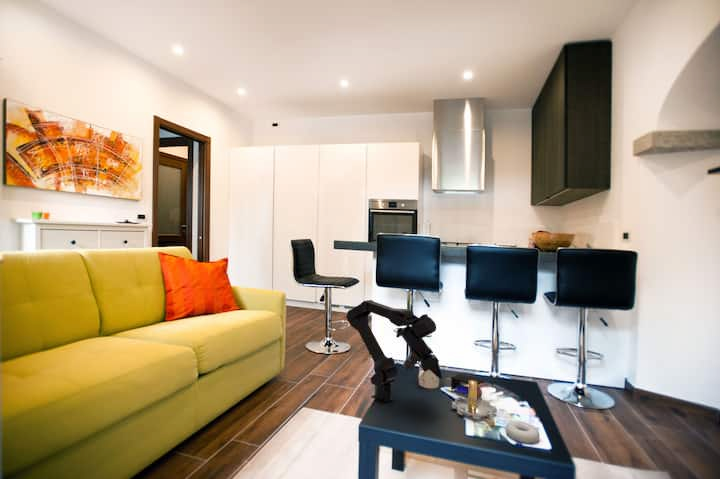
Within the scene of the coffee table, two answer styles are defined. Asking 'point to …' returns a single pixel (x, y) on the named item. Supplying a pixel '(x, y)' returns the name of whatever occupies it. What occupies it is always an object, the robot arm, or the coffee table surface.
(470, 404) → the sprocket wheel
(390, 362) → the robot arm
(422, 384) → the teacup with lid
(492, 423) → the timing mark
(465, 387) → the figurine character
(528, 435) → the donut
